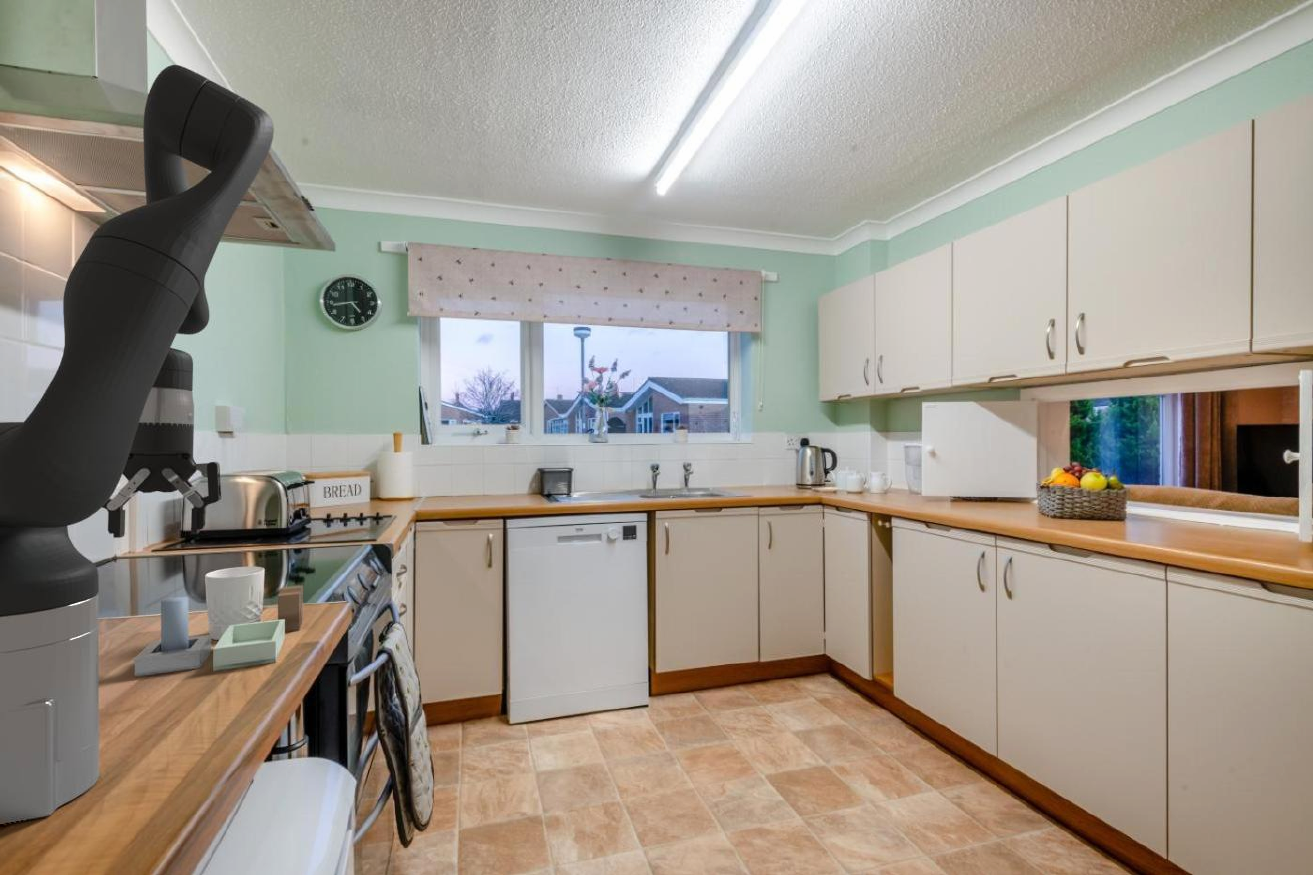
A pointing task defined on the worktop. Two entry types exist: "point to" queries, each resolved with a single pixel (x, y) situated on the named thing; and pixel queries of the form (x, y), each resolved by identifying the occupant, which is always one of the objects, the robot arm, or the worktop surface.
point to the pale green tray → (249, 645)
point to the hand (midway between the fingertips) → (157, 535)
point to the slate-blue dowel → (174, 624)
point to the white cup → (233, 598)
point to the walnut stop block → (291, 607)
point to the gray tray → (172, 657)
